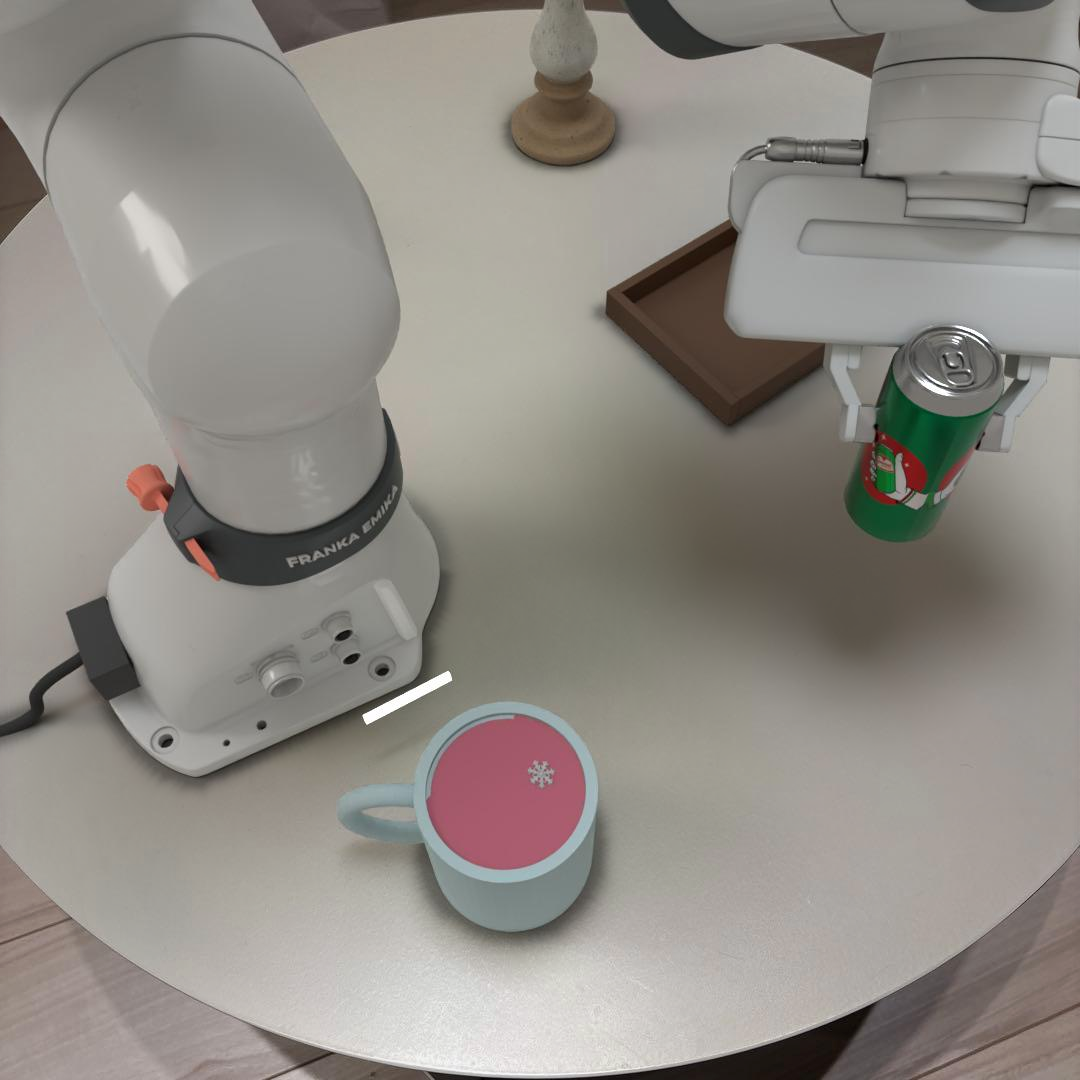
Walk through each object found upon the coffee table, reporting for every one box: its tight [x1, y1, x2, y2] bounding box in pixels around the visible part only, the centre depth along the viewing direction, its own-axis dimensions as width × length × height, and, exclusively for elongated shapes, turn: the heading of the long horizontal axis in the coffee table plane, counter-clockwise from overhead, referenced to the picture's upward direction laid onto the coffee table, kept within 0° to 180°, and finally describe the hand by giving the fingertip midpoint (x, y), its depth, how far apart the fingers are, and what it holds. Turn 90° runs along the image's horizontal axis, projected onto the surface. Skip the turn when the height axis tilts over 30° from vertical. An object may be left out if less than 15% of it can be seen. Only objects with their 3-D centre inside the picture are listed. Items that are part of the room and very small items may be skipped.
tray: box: [605, 218, 825, 427], centre depth 85 cm, size 15×14×2 cm
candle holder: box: [510, 0, 616, 166], centre depth 88 cm, size 9×9×20 cm
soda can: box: [843, 324, 1006, 544], centre depth 56 cm, size 5×5×12 cm
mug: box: [335, 701, 599, 933], centre depth 61 cm, size 14×9×10 cm
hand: (923, 446), depth 55 cm, fingers closed on soda can, 5 cm apart
